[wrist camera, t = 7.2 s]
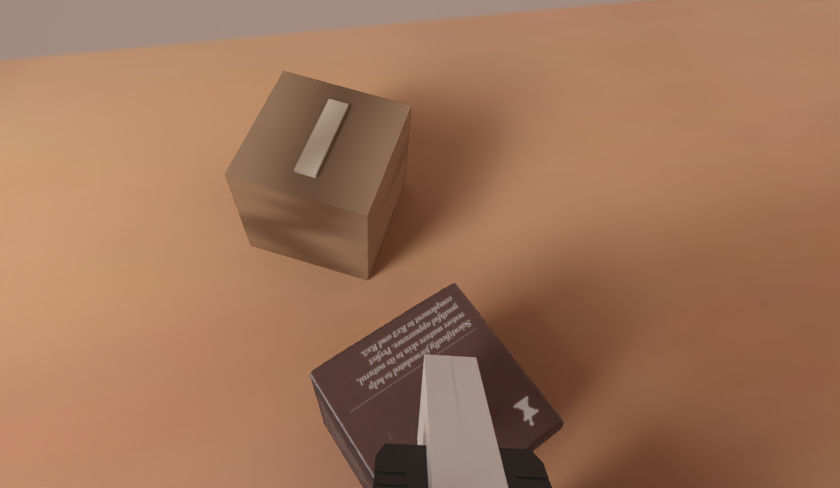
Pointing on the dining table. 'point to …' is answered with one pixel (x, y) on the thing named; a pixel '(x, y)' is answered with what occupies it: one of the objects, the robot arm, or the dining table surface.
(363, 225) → the marked block one
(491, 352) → the box
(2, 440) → the dining table surface
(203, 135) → the dining table surface
